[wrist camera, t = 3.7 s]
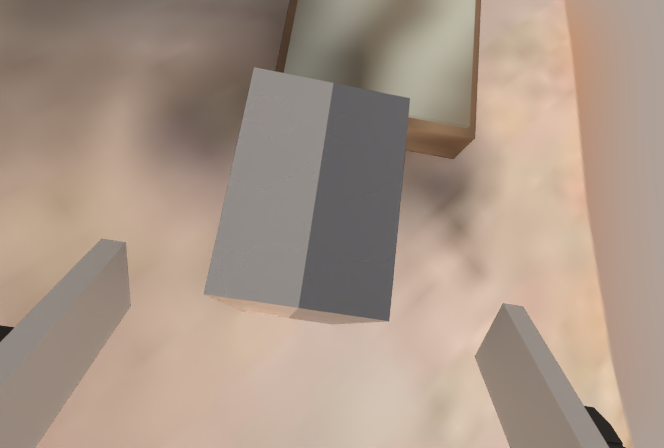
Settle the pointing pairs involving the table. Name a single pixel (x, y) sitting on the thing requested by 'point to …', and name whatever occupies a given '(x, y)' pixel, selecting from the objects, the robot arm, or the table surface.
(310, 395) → the table surface
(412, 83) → the tray
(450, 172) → the table surface
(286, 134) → the block
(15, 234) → the table surface
